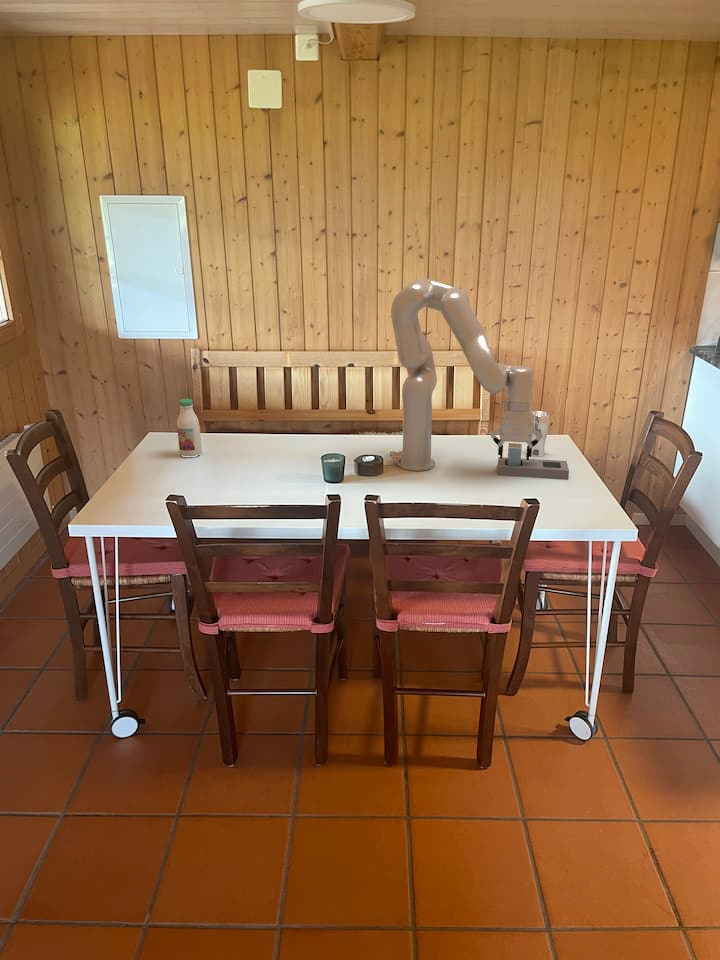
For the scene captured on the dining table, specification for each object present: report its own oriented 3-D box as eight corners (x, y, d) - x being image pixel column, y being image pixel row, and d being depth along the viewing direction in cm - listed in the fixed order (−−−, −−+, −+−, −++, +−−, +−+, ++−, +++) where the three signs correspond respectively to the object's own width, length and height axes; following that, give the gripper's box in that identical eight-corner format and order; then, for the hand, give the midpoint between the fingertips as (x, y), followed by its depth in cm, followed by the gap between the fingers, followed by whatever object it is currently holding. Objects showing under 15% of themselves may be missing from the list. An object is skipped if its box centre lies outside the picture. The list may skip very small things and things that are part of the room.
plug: (506, 473, 226) (508, 446, 223) (506, 468, 230) (508, 442, 226) (519, 473, 225) (521, 447, 222) (519, 469, 229) (521, 443, 226)
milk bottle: (192, 449, 252) (186, 396, 244) (206, 453, 248) (201, 399, 240) (175, 455, 246) (169, 400, 239) (190, 459, 242) (184, 404, 234)
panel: (497, 476, 224) (498, 466, 223) (497, 467, 233) (498, 457, 231) (567, 480, 220) (568, 470, 219) (565, 470, 229) (566, 460, 227)
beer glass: (548, 453, 244) (552, 412, 239) (542, 459, 239) (546, 417, 233) (529, 450, 248) (533, 409, 242) (522, 455, 242) (526, 414, 237)
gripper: (489, 407, 217) (486, 460, 224) (547, 410, 214) (542, 463, 221) (490, 401, 224) (487, 452, 231) (546, 403, 221) (541, 455, 228)
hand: (514, 457), depth 226 cm, fingers open, 7 cm apart
